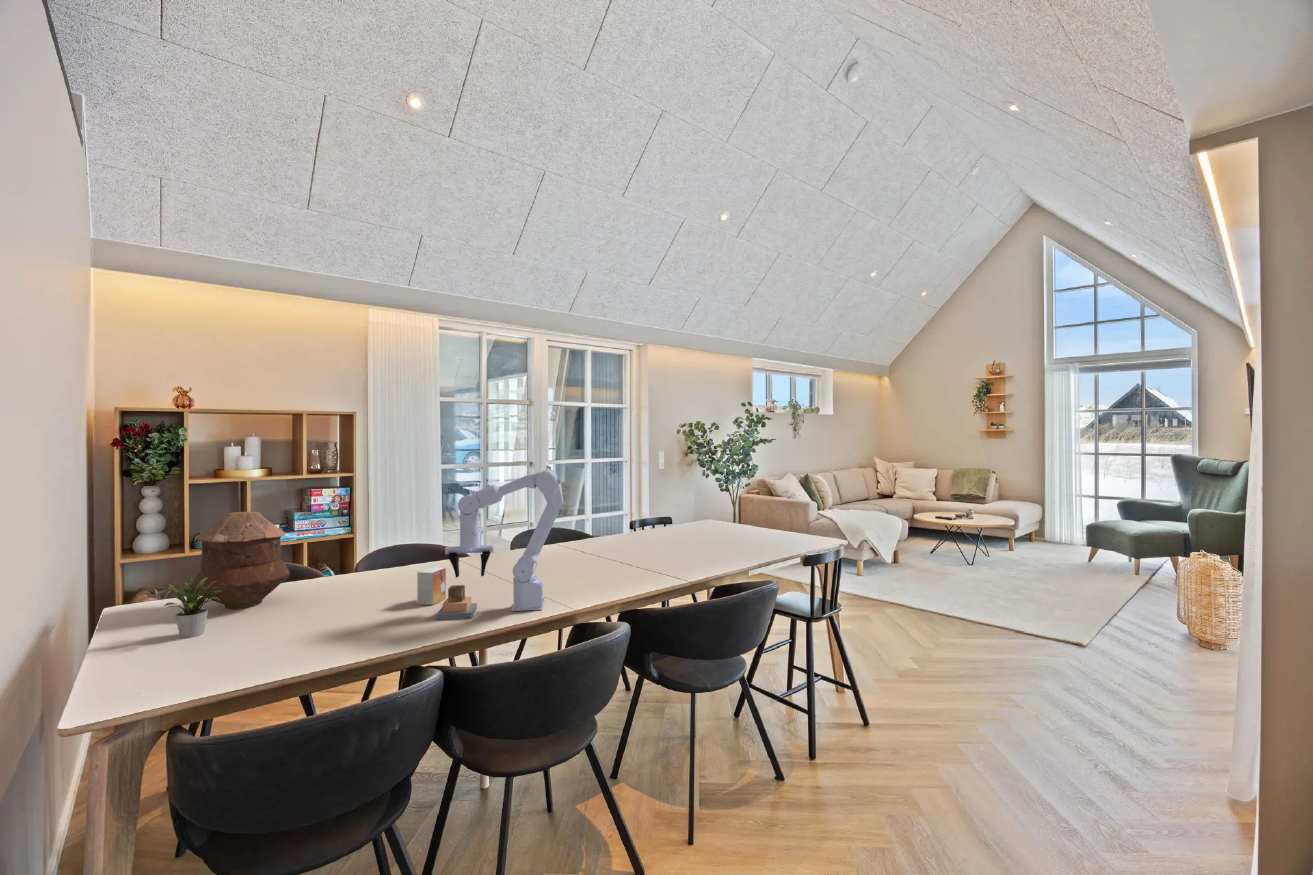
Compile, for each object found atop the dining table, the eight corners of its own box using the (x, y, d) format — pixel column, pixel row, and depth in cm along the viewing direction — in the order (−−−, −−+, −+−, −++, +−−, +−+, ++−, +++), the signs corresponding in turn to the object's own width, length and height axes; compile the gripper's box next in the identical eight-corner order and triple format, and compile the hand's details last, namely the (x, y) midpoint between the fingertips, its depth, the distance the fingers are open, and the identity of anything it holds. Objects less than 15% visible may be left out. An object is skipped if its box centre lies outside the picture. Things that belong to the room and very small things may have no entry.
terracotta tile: (471, 604, 182) (471, 596, 182) (466, 611, 175) (466, 603, 175) (448, 605, 181) (448, 597, 181) (442, 612, 174) (442, 604, 174)
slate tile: (477, 610, 183) (477, 602, 183) (471, 621, 174) (471, 612, 174) (444, 612, 182) (444, 604, 182) (436, 622, 172) (436, 614, 172)
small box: (432, 605, 187) (432, 572, 187) (416, 604, 188) (416, 572, 188) (446, 598, 195) (446, 567, 195) (431, 597, 196) (431, 566, 196)
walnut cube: (464, 598, 180) (464, 585, 180) (461, 601, 176) (461, 588, 176) (451, 598, 180) (451, 585, 180) (448, 602, 176) (448, 588, 176)
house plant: (164, 649, 149) (164, 585, 149) (144, 639, 156) (143, 578, 156) (229, 633, 161) (228, 574, 161) (207, 624, 169) (206, 568, 168)
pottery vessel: (177, 621, 172) (176, 519, 172) (207, 598, 196) (207, 509, 195) (279, 611, 181) (279, 515, 181) (296, 590, 205) (296, 505, 205)
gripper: (442, 535, 178) (443, 580, 178) (491, 534, 180) (492, 578, 180) (447, 531, 185) (448, 574, 185) (494, 530, 187) (495, 572, 187)
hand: (470, 576), depth 183 cm, fingers open, 7 cm apart
